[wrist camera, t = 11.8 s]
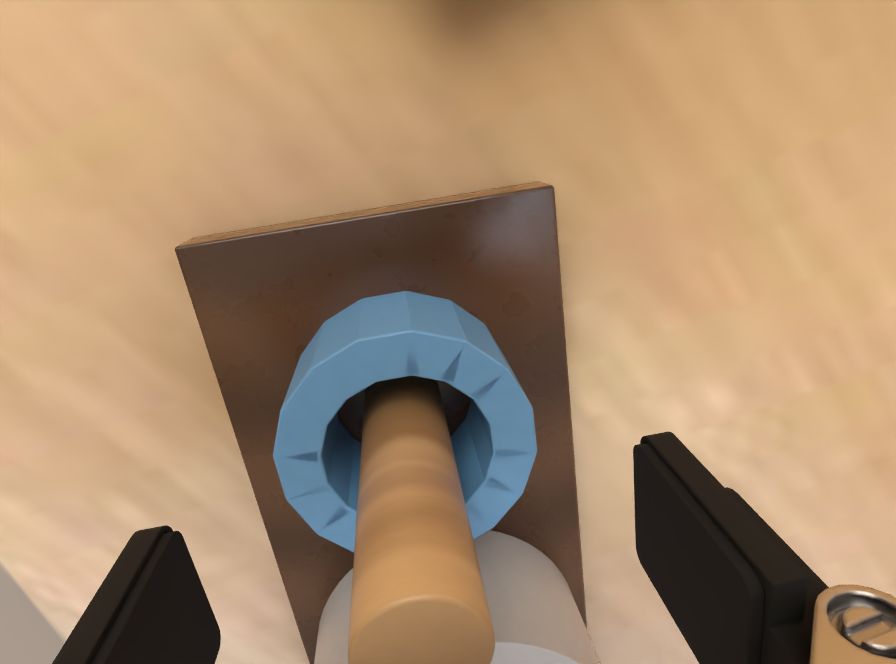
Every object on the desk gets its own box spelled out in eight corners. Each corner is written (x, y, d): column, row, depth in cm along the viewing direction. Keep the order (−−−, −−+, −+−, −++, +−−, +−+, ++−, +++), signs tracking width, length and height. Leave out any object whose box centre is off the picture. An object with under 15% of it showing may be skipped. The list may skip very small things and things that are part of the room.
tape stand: (190, 238, 17) (-113, 402, 7) (540, 180, 17) (770, 249, 7) (342, 723, 25) (314, 1149, 14) (581, 672, 25) (719, 1045, 15)
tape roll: (271, 313, 16) (242, 359, 13) (495, 275, 17) (523, 310, 13) (322, 500, 19) (309, 580, 15) (517, 462, 19) (546, 533, 16)
